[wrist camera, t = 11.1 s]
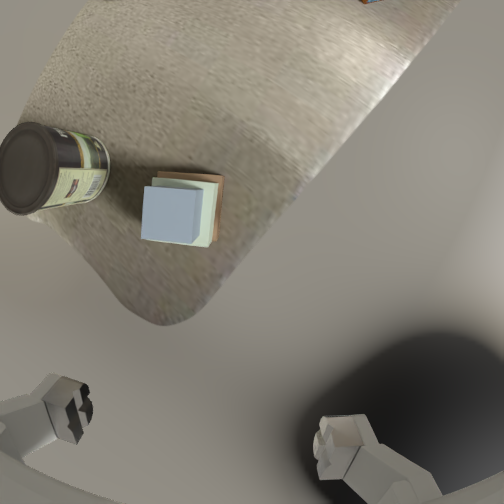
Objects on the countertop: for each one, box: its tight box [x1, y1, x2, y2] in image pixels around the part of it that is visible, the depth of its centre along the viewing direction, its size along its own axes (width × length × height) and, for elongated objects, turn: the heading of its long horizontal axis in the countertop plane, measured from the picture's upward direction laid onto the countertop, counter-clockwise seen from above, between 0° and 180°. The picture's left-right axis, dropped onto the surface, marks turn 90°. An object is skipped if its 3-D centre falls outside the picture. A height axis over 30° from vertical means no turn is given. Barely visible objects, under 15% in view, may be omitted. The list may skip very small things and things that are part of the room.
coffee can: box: [0, 122, 110, 215], centre depth 32 cm, size 10×10×14 cm
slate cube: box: [141, 186, 204, 244], centre depth 30 cm, size 5×5×5 cm
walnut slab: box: [157, 171, 225, 241], centre depth 39 cm, size 8×8×4 cm
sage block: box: [147, 177, 219, 247], centre depth 35 cm, size 7×7×4 cm
